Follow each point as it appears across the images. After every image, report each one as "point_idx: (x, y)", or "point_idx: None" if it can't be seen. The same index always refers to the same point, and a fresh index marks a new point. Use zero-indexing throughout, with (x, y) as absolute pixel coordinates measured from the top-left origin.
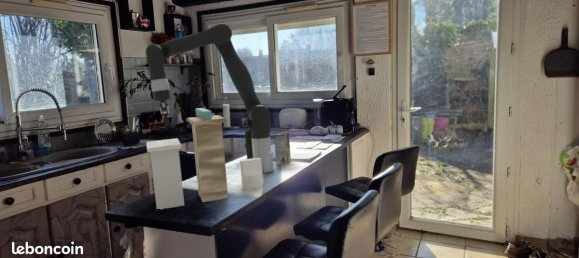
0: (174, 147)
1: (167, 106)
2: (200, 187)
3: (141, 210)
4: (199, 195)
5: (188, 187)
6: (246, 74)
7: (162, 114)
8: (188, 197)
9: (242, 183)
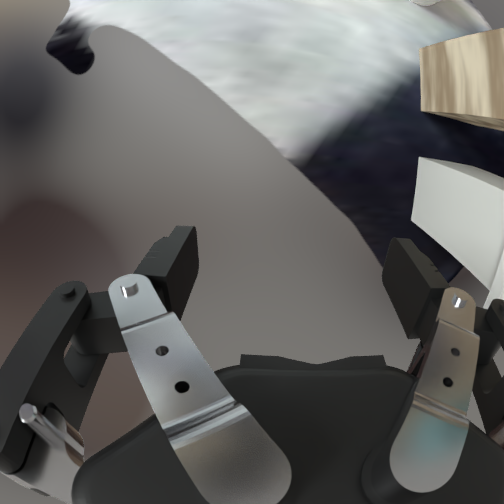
0: None
1: (461, 425)
2: (484, 125)
3: (446, 251)
4: (433, 113)
5: (329, 117)
6: None
7: (486, 364)
8: (430, 141)
9: (426, 1)
